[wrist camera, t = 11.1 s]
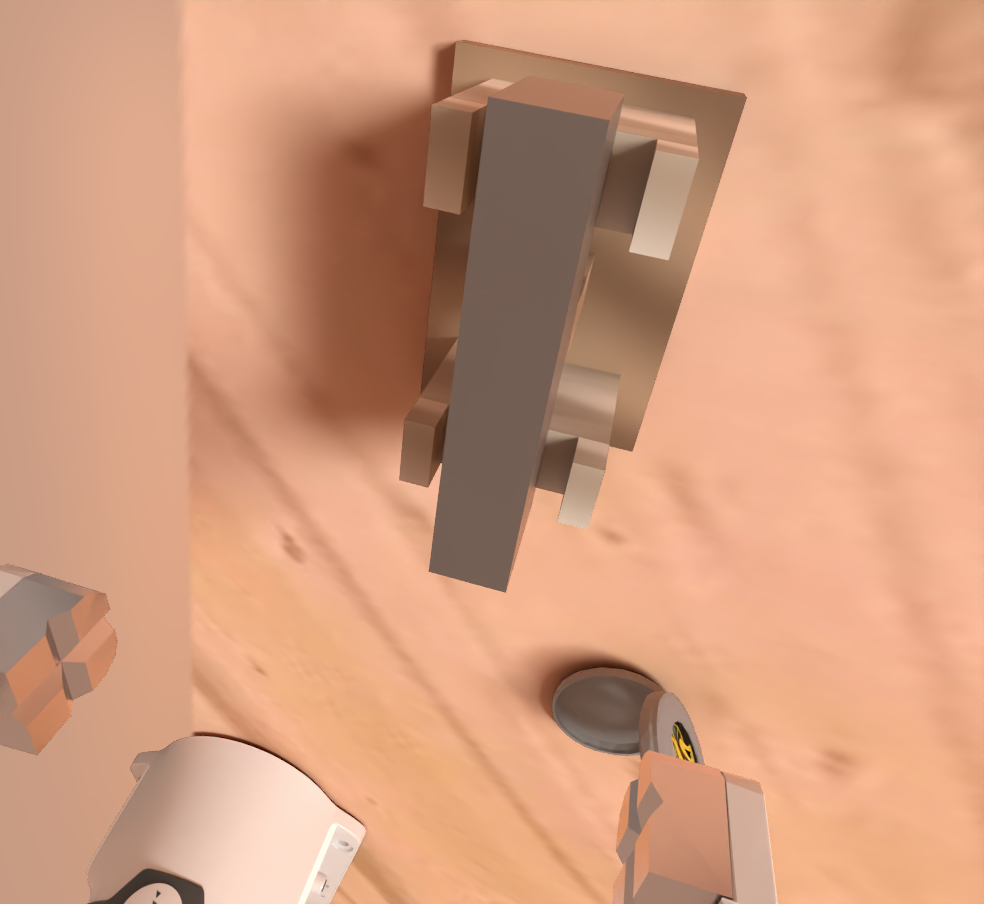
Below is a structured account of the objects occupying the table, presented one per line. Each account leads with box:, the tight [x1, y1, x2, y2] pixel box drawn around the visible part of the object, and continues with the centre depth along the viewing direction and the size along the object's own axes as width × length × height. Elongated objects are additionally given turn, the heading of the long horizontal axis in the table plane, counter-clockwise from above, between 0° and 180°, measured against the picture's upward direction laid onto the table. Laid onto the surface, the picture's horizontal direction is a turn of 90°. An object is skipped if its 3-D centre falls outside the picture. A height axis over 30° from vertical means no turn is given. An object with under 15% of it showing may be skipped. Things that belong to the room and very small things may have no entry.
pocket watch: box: [552, 667, 705, 765], centre depth 33 cm, size 8×8×10 cm
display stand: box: [399, 40, 747, 529], centre depth 22 cm, size 13×9×8 cm
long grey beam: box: [429, 76, 625, 593], centre depth 19 cm, size 13×2×4 cm, turn 171°
